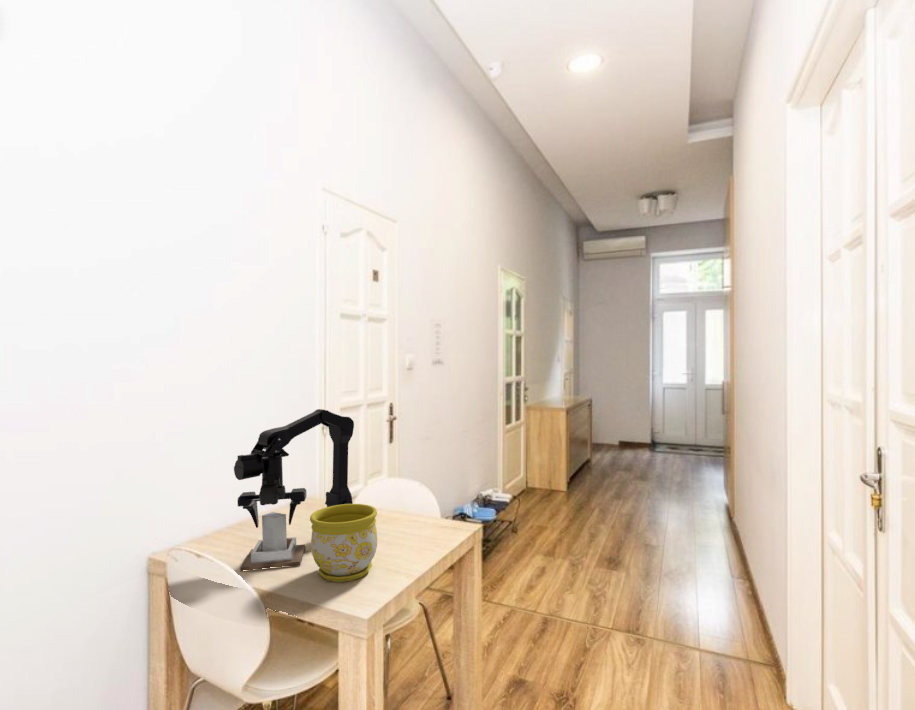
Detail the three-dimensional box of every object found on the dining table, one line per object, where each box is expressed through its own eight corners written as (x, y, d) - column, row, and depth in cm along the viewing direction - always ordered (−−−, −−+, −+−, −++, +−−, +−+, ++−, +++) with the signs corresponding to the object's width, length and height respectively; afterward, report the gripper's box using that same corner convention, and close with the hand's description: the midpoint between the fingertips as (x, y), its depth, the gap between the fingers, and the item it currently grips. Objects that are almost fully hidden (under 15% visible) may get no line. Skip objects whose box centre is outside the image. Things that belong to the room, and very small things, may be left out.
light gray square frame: (296, 546, 157) (296, 537, 157) (291, 560, 146) (291, 550, 146) (258, 550, 155) (258, 540, 155) (251, 564, 144) (250, 553, 144)
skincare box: (287, 554, 151) (286, 514, 151) (275, 559, 147) (274, 518, 147) (274, 550, 154) (273, 511, 154) (262, 555, 150) (261, 515, 151)
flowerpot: (348, 592, 128) (346, 527, 128) (297, 579, 136) (295, 518, 136) (391, 565, 143) (389, 507, 143) (343, 555, 152) (341, 500, 152)
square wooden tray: (305, 548, 159) (305, 544, 159) (300, 565, 145) (299, 561, 145) (251, 553, 156) (251, 549, 156) (240, 571, 142) (240, 567, 142)
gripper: (232, 481, 141) (233, 538, 141) (301, 477, 145) (303, 532, 145) (241, 473, 152) (242, 525, 152) (306, 469, 156) (307, 520, 155)
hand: (273, 526), depth 151 cm, fingers open, 9 cm apart
